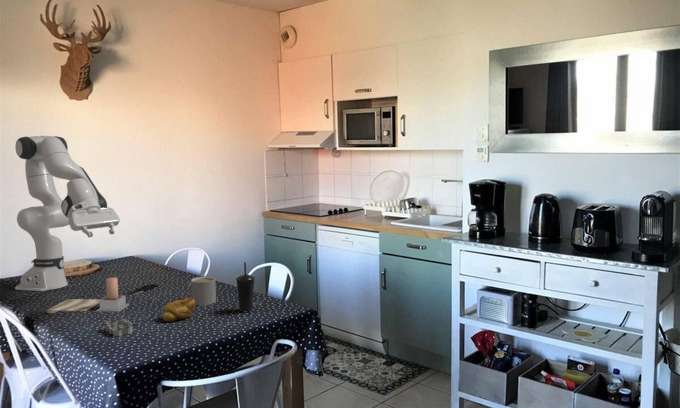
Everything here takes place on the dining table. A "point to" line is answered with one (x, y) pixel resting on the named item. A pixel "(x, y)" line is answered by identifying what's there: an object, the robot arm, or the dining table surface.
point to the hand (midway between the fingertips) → (101, 234)
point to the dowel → (112, 288)
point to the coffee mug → (203, 290)
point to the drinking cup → (245, 290)
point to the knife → (142, 289)
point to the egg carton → (119, 327)
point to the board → (74, 305)
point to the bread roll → (179, 309)
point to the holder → (113, 304)
